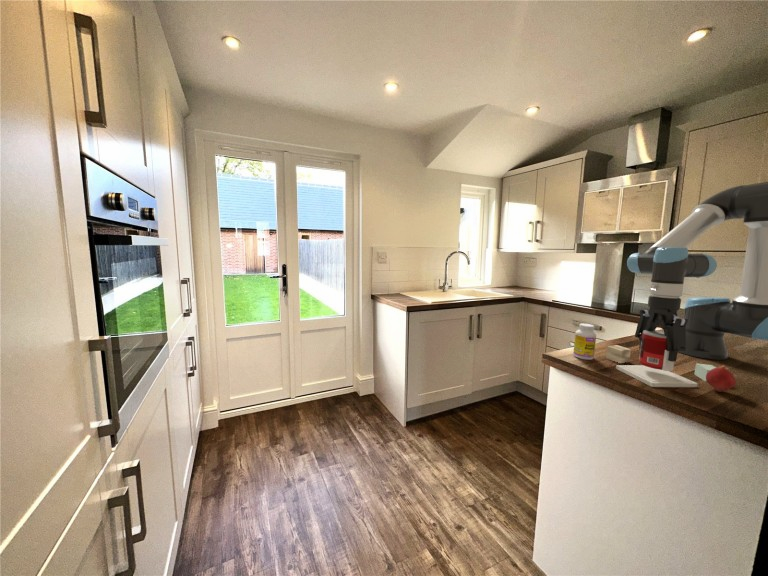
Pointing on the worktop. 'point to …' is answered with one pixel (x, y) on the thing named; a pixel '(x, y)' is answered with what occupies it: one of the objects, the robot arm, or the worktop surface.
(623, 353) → the beech block
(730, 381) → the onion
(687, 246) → the robot arm
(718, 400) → the worktop surface
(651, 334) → the canned food
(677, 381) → the tray
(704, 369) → the sage block
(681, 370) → the worktop surface
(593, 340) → the supplement bottle
